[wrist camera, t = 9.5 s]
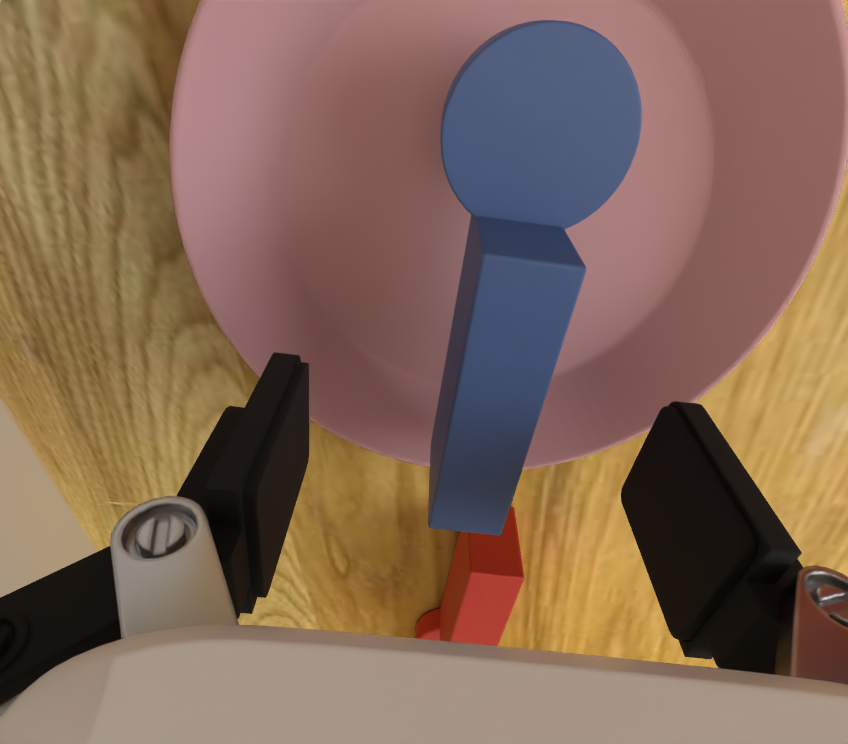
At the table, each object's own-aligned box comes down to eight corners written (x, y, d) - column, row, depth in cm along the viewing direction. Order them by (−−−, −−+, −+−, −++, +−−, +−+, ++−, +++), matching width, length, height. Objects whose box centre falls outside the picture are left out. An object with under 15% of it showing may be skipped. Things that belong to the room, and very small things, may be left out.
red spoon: (485, 652, 25) (490, 721, 23) (411, 645, 25) (407, 714, 22) (538, 509, 19) (552, 581, 17) (442, 498, 19) (442, 570, 17)
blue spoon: (455, 5, 9) (460, 0, 7) (654, 36, 9) (732, 42, 7) (399, 441, 15) (390, 525, 12) (522, 455, 15) (538, 540, 13)
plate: (73, -9, 11) (6, -14, 9) (829, -363, 8) (931, -463, 6) (341, 467, 18) (331, 511, 17) (779, 371, 16) (819, 413, 14)
